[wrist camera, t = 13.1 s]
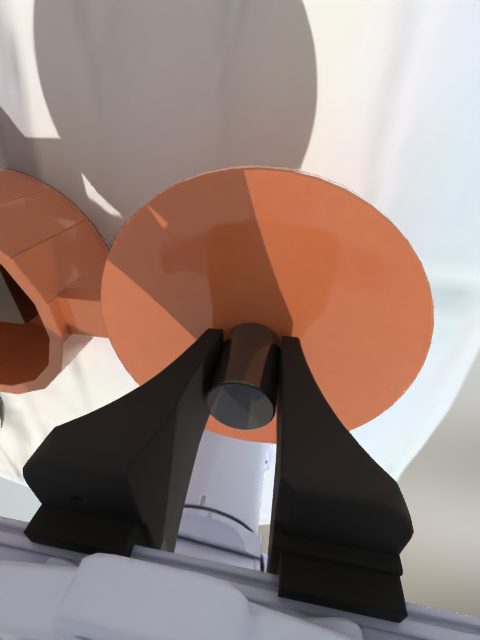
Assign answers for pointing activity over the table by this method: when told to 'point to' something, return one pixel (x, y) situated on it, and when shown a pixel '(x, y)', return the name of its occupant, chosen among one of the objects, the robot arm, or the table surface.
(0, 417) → the spread jar
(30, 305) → the block
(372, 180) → the table surface
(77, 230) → the pot
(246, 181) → the lid
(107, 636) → the robot arm
